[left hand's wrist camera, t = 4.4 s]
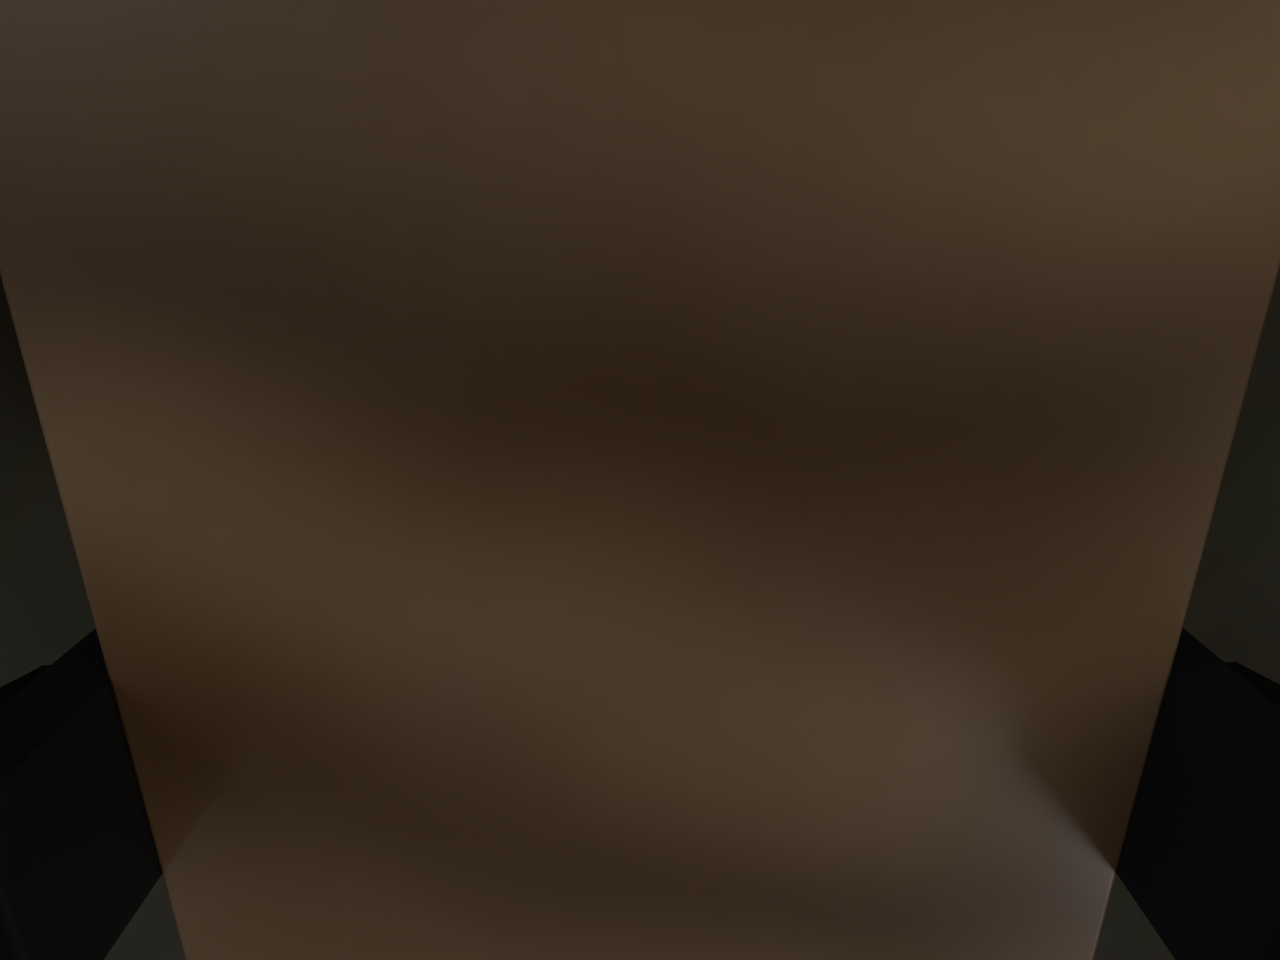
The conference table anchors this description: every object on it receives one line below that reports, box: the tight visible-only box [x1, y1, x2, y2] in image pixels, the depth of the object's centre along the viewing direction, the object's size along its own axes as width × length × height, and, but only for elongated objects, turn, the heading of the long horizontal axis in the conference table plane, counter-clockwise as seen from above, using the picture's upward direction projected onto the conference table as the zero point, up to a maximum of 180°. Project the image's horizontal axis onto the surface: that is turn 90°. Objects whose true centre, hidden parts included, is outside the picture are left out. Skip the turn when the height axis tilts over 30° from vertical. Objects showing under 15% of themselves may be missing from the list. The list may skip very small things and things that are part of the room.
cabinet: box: [0, 0, 1280, 960], centre depth 11 cm, size 18×11×9 cm, turn 0°
